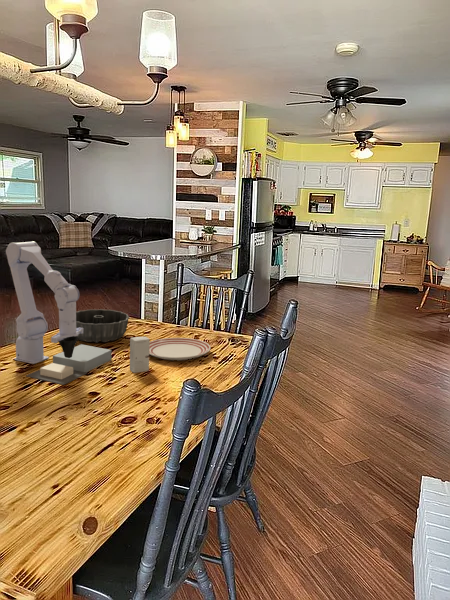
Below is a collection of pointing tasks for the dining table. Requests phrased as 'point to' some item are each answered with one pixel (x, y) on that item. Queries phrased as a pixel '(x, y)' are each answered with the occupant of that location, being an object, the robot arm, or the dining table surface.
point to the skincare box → (139, 354)
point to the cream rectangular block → (56, 371)
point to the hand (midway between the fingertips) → (68, 357)
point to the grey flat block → (84, 358)
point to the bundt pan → (101, 325)
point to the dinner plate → (178, 348)
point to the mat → (54, 380)
